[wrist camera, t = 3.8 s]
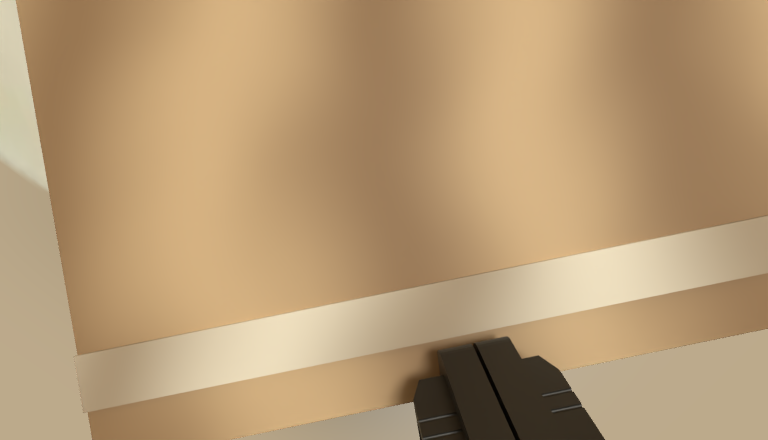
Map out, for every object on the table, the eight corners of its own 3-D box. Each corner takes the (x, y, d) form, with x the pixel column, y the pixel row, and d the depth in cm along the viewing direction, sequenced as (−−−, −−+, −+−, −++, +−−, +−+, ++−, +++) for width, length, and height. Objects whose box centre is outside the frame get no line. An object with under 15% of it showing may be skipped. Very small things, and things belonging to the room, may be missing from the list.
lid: (672, -267, 13) (700, -315, 12) (806, 307, 13) (849, 313, 11) (15, -144, 13) (-21, -182, 12) (119, 449, 12) (93, 469, 11)
